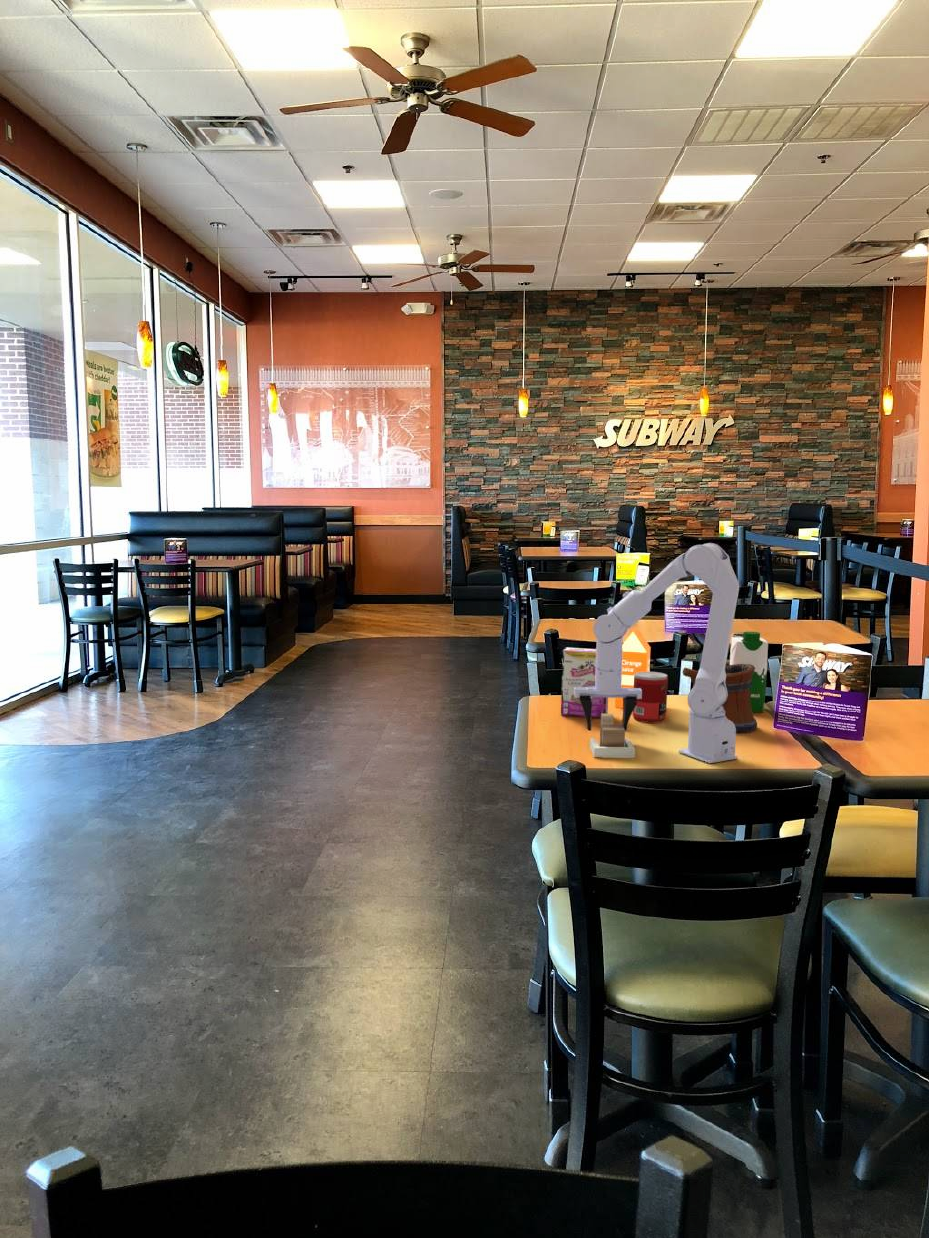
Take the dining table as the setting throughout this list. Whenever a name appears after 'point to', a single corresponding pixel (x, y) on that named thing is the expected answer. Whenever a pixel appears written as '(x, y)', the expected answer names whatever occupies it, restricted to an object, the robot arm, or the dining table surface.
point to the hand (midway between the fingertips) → (606, 729)
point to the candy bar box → (579, 682)
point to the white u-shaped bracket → (612, 750)
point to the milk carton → (753, 653)
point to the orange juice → (633, 660)
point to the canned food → (651, 696)
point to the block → (611, 732)
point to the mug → (736, 695)
